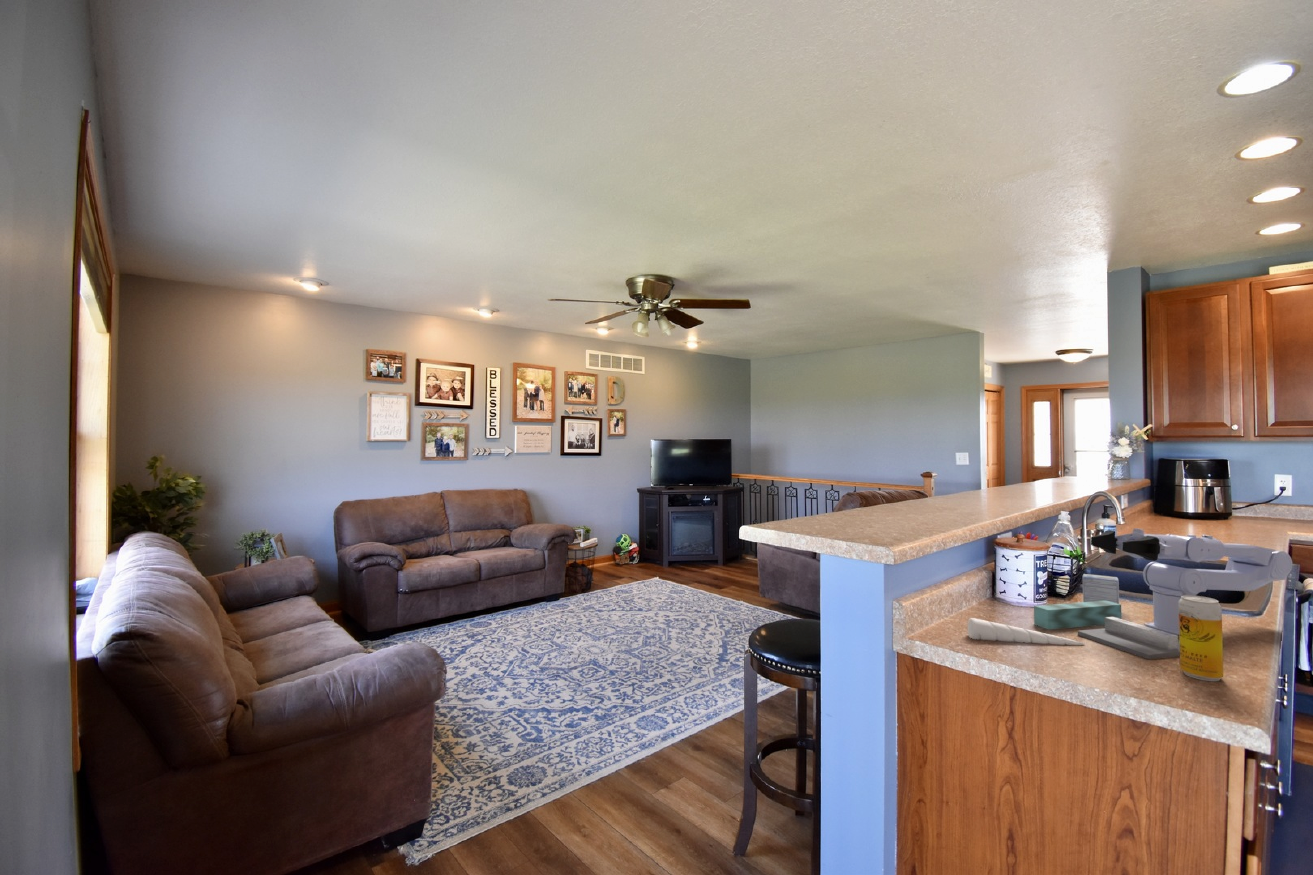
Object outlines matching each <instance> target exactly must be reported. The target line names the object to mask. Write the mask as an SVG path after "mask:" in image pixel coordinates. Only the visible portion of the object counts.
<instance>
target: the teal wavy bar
mask: <svg viewBox="0 0 1313 875" xmlns="http://www.w3.org/2000/svg"><path fill="white" fill-rule="evenodd" d="M1033 616H1034V617H1033V621H1034V622H1033V623H1034V626H1037V625H1038V627H1040V628H1043V629H1045V630H1058V629H1070V628H1079V627H1081V628H1082V627H1083V628H1084V627H1093V626H1094V625H1096V626H1105V617H1116V618H1119V619H1122V604H1120V603H1119V604H1117V603H1113V602H1110V601H1092V602H1083V601H1080V602H1068V603H1055V604H1043V605H1042V604H1039V605H1034V606H1033Z"/></svg>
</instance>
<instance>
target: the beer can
mask: <svg viewBox="0 0 1313 875" xmlns="http://www.w3.org/2000/svg"><path fill="white" fill-rule="evenodd" d="M1219 602H1220V601H1219V600H1217V599H1215V598H1211V597H1208V596H1207V597H1206V596H1202V595H1201V596H1200V595H1197V596H1191V595H1185V596H1181V599H1180V600H1179V635H1178V640H1180V656H1179V669H1180V670H1182V672H1183V674H1184V675H1186V676H1188V677H1190V678H1193V679H1197V680H1199V681H1200V680H1201V681H1207V682H1219V681H1220V679H1222V678H1224V651H1223V650H1224V649H1223V647H1224V646H1223V610H1222V606H1221V604H1220V603H1219Z"/></svg>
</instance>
